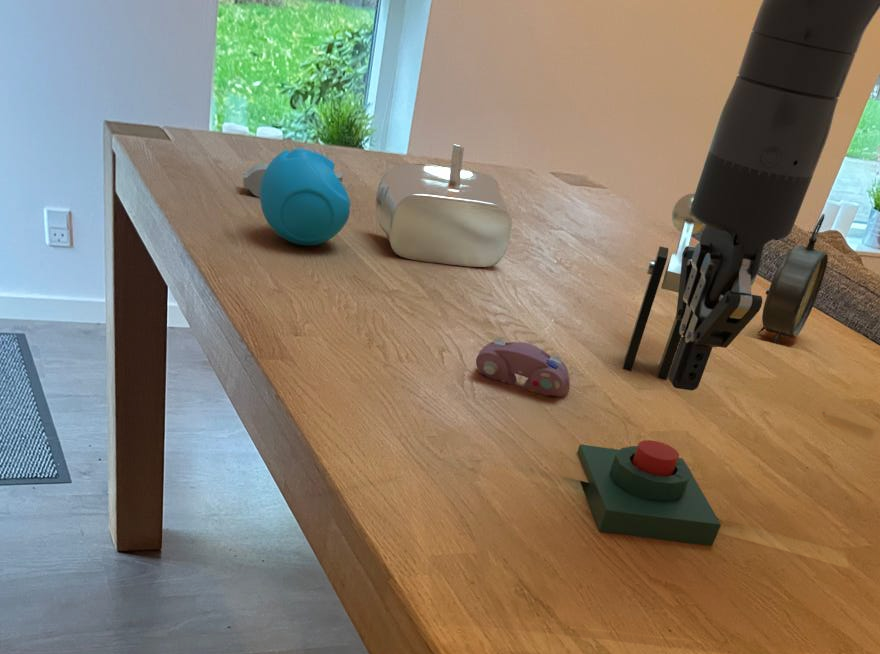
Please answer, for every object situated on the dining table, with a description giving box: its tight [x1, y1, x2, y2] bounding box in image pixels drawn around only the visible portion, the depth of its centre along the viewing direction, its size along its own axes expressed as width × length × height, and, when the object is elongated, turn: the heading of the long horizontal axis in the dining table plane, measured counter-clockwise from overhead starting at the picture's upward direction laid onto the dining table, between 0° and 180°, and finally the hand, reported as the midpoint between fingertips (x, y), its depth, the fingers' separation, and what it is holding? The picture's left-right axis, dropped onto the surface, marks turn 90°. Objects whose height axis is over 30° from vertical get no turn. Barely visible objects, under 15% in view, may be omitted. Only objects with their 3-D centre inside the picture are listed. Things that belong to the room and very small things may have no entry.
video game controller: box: [475, 337, 571, 398], centre depth 101 cm, size 10×5×7 cm, turn 68°
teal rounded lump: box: [260, 147, 351, 247], centre depth 129 cm, size 12×11×12 cm
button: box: [632, 439, 680, 476], centre depth 85 cm, size 4×4×2 cm
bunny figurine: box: [242, 162, 346, 199], centre depth 148 cm, size 10×5×15 cm
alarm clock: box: [757, 213, 829, 345], centre depth 128 cm, size 11×5×16 cm, turn 147°
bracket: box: [622, 246, 683, 381], centre depth 108 cm, size 12×9×14 cm
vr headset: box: [375, 143, 513, 268], centre depth 135 cm, size 18×11×14 cm, turn 98°
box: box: [577, 443, 722, 547], centre depth 86 cm, size 12×10×4 cm
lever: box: [660, 193, 706, 293], centre depth 108 cm, size 14×4×4 cm, turn 165°
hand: (681, 385), depth 81 cm, fingers closed
